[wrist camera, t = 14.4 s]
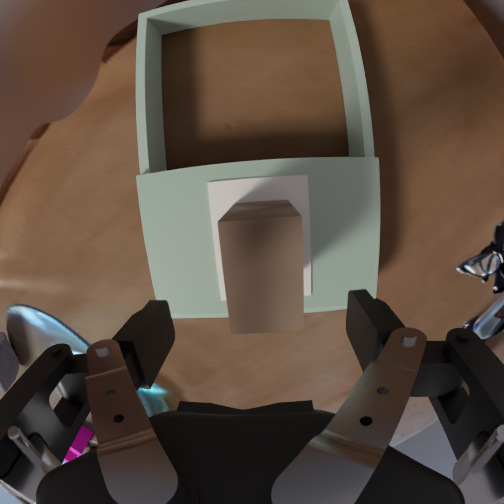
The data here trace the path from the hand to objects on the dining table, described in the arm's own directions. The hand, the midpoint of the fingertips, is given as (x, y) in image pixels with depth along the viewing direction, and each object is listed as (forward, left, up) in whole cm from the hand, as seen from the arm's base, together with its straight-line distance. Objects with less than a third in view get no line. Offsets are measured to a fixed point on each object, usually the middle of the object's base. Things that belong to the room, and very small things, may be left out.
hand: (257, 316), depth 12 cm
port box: (0, -9, -19) cm, 21 cm away
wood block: (0, 0, -13) cm, 13 cm away
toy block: (+48, +46, -20) cm, 70 cm away
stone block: (+54, +21, -20) cm, 61 cm away
